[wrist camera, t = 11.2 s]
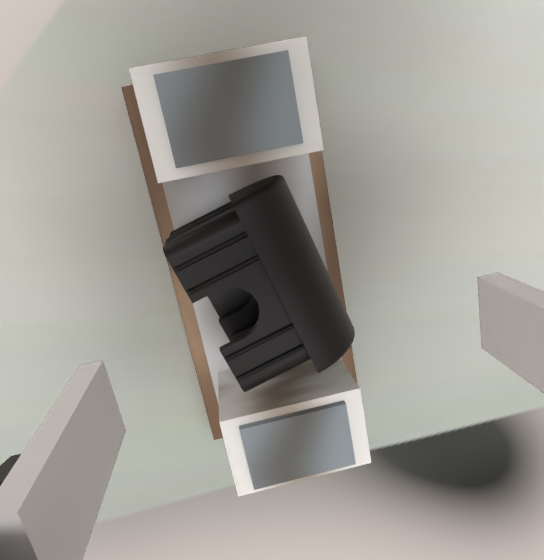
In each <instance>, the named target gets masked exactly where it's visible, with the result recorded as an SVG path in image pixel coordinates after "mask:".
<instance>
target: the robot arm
mask: <svg viewBox="0 0 544 560" xmlns="http://www.w3.org/2000/svg"><path fill="white" fill-rule="evenodd" d="M477 281H478V298H479V315H480V331H481V348H482V349H484V350H485V351H487V352H488V353H489V354H491V355H492V356H493V357H495V358H496V359H498V360H499V361H500V362H502V363H503V364H504V365H506V366H507V367H508V368H510V369H511V370H513V371H514V372H515V373H517V374H518V375H519V376H521V377H522V378H524V379H525V380H526V381H528V382H529V383H530V384H532V385H533V386H535V387H536V388H537V389H539V390H540V391H541V392H543V393H544V291H541V290H539V289H536V288H534V287H532V286H529V285H527V284H524V283H522V282H520V281H517V280H515V279H512V278H510V277H508V276H505V275H503V274H501V273H493V274H489V275H484V276H480V277H477ZM125 431H126V429H125V426H124V423H123V420H122V417H121V414H120V411H119V408H118V405H117V402H116V399H115V396H114V393H113V390H112V387H111V384H110V381H109V378H108V375H107V372H106V369H105V365H104V362H103V360H101V361H97V362H92V363H88V364H83V365H80V366H79V367H78V369H77V370H76V372H75V373H74V375H73V376H72V378H71V379H70V381H69V382H68V384H67V385H66V387H65V388H64V390H63V391H62V393H61V394H60V396H59V397H58V399H57V401H56V402H55V404H54V405H53V407H52V408H51V410H50V411H49V413H48V414H47V416H46V417H45V419H44V420H43V422H42V423H41V425H40V426H39V428H38V429H37V431H36V433H35V434H34V436H33V437H32V439H31V440H30V442H29V443H28V445H27V446H26V448H25V449H24V451H23V452H22V454H18V455H14V456H11V457H10V458H9V459H7V460H6V461H5V462H4V463H3V464H2V465H0V560H83V557H84V554H85V551H86V548H87V545H88V542H89V539H90V536H91V533H92V530H93V527H94V524H95V521H96V518H97V515H98V512H99V509H100V506H101V503H102V500H103V497H104V494H105V491H106V488H107V485H108V482H109V479H110V476H111V473H112V470H113V467H114V464H115V461H116V458H117V455H118V452H119V449H120V446H121V443H122V440H123V437H124V434H125Z"/></svg>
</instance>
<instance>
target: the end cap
mask: <svg viewBox="0 0 544 560" xmlns="http://www.w3.org/2000/svg"><path fill="white" fill-rule="evenodd" d="M228 196H229V198H230V200H231V202H229V203H227V204H225V205H223V206H221V207H219V208H217V209H215V210H213V211H211V212H209V213H207V214H205V215H203V216H201V217H199V218H197V219H195V220H193V221H191V222H189V223H187V224H185V225H183V226H182V227H180V228H178V229H176V230H174V231H172V232H170V235H169V238H167V239H166V242H165V245H164V247H163V251H164V254H165V256H166V258H167V260H168V262H169V264H170V265H171V267H172V269H173V271H174V272H175V274H176V276H177V278H178V279H179V281H180V283H181V284H182V286H183V288H184V290H185V291H186V293H187V295H188V297H189V298H190V300H191V302H192V304H193V303H195V302H197V301H199V300H201V299H203V298H204V297H206V296H208V298H209V300H210V302H211V303H212V305H213V307H214V309H215V310H216V312H217V314H218V316H219V318H220V319H219V323H220V325H221V327H222V328H223V330H224V332H225V334H226V335H227V337H228V339H229V341H230V342H229V343H227V344H225V345H223V346H221V347H220V352H221V354H222V355H223V357H224V359H225V361H226V362H227V364H228V366H229V368H230V369H231V371H232V373H233V375H234V376H235V378H236V380H237V381H238V383H239V385H240V387H241V388H242V390H243V391H244V392H247V391H249V390H251V389H252V388H254V387H256V386H258V385H260V384H262V383H264V382H266V381H268V380H270V379H272V378H274V377H276V376H278V375H280V374H282V373H284V372H286V371H288V370H290V369H292V368H294V367H296V366H298V365H300V364H302V363H304V362H306V361H308V360H310V359H311V360H312V362H313V364H314V366H315V368H316V370H317V372H318V373H320V372H322V371H323V370H325V369H327V368H328V367H330V366H331V365H333V364H334V363H335V362H337V361H338V360H339V359H340V358H341V357H342V356H343V355H344V354H345V353H346V352H347V350H348V349H349V347H350V346H351V344H352V342H353V339H354V335H355V334H354V327H353V325H352V323H351V321H350V319H349V317H348V314H347V312H346V310H345V308H344V306H343V304H342V301H341V299H340V297H339V295H338V293H337V291H336V289H335V286H334V284H333V282H332V280H331V278H330V276H329V273H328V271H327V269H326V267H325V265H324V263H323V261H322V258H321V256H320V254H319V252H318V250H317V248H316V245H315V243H314V241H313V239H312V237H311V235H310V233H309V230H308V228H307V226H306V224H305V222H304V220H303V217H302V215H301V213H300V211H299V209H298V207H297V205H296V202H295V200H294V198H293V196H292V194H291V192H290V189H289V187H288V185H287V183H286V181H285V179H284V177H283V176H281V175H274V176H271V177H268V178H265V179H262V180H260V181H257V182H255V183H253V184H251V185H248V186H246V187H244V188H242V189H240V190H238V191H236V192H234V193H232V194H230V195H228Z"/></svg>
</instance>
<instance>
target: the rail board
mask: <svg viewBox="0 0 544 560" xmlns="http://www.w3.org/2000/svg"><path fill="white" fill-rule="evenodd" d="M129 72H130V76H131V80H132V84H133V85H131V86H125V87H122V91H123V95H124V99H125V103H126V106H127V110H128V114H129V118H130V122H131V125H132V129H133V133H134V137H135V141H136V144H137V148H138V152H139V156H140V160H141V163H142V167H143V171H144V175H145V179H146V182H147V186H148V190H149V194H150V198H151V201H152V205H153V209H154V213H155V217H156V220H157V224H158V228H159V232H160V236H161V239H162V243H163V247H164V245H165V242H166V239H167V238H169V235H170V232H172V231H174V230H176V229H178V228H180V227H182V226H183V225H185V224H187V223H189V222H191V221H193V220H195V219H197V218H199V217H201V216H203V215H205V214H207V213H209V212H211V211H213V210H215V209H217V208H219V207H221V206H223V205H225V204H227V203H229V202H231V200H230V198H229V196H228V195H230V194H232V193H234V192H236V191H238V190H240V189H242V188H244V187H246V186H248V185H251V184H253V183H255V182H257V181H260V180H262V179H265V178H268V177H271V176H274V175H281V176H283V177H284V179H285V181H286V183H287V185H288V187H289V189H290V192H291V194H292V196H293V198H294V200H295V202H296V205H297V207H298V209H299V211H300V213H301V215H302V217H303V220H304V222H305V224H306V226H307V228H308V230H309V233H310V235H311V237H312V239H313V241H314V243H315V245H316V248H317V250H318V252H319V254H320V256H321V258H322V261H323V263H324V265H325V267H326V269H327V271H328V273H329V276H330V278H331V280H332V282H333V284H334V286H335V289H336V291H337V293H338V295H339V297H340V299H341V301H342V304H343V306H344V308H345V310H346V307H345V300H344V294H343V287H342V281H341V274H340V268H339V261H338V255H337V248H336V242H335V235H334V229H333V222H332V216H331V209H330V203H329V196H328V190H327V183H326V176H325V170H324V163H323V157H322V150H324V148H323V142H322V135H321V128H320V122H319V115H318V109H317V102H316V96H315V89H314V82H313V76H312V69H311V63H310V56H309V49H308V43H307V36H304V37H299V38H293V39H288V40H282V41H277V42H271V43H266V44H260V45H255V46H249V47H243V48H238V49H232V50H227V51H221V52H216V53H210V54H205V55H199V56H194V57H188V58H183V59H177V60H171V61H166V62H160V63H155V64H149V65H144V66H138V67H133V68H129ZM167 262H168V260H167ZM168 266H169V270H170V274H171V277H172V281H173V285H174V289H175V293H176V296H177V300H178V304H179V308H180V312H181V315H182V319H183V323H184V327H185V331H186V334H187V338H188V342H189V346H190V350H191V353H192V357H193V361H194V365H195V369H196V372H197V376H198V380H199V384H200V388H201V391H202V395H203V399H204V403H205V407H206V410H207V414H208V418H209V422H210V426H211V429H212V433H213V437H214V440H215V439H220V438H223V439H224V443H225V447H226V451H227V454H228V458H229V462H230V466H231V470H232V474H233V478H234V482H235V486H236V490H237V493H238V496H242V495H246V494H250V493H253V492H258V491H262V490H266V489H270V488H273V487H278V486H281V485H285V484H289V483H293V482H297V481H301V480H305V479H309V478H313V477H317V476H320V475H325V474H329V473H333V472H336V471H340V470H344V469H348V468H352V467H356V466H360V465H364V464H368V463H371V458H370V451H369V444H368V438H367V431H366V424H365V418H364V411H363V405H362V398H361V392H360V387H359V386H358V384H357V379H356V372H355V366H354V359H353V353H352V346H350V347H349V349H348V350H347V352H346V353H345V354H344V355H343V356H342V357H341V358H340V359H339V360H338V361H337V362H335V363H334V364H333V365H331V366H330V367H328V368H327V369H325V370H323V371H322V372H320V373H318V372H317V370H316V368H315V366H314V364H313V362H312V360H311V359H310V360H308V361H306V362H304V363H302V364H300V365H298V366H296V367H294V368H292V369H290V370H288V371H286V372H284V373H282V374H280V375H278V376H276V377H274V378H272V379H270V380H268V381H266V382H264V383H262V384H260V385H258V386H256V387H254V388H252V389H251V390H249V391H247V392H244V391H243V390H242V388H241V387H240V385H239V383H238V381H237V380H236V378H235V376H234V375H233V373H232V371H231V369H230V368H229V366H228V364H227V362H226V361H225V359H224V357H223V355H222V354H221V352H220V347H221V346H223V345H225V344H227V343H229V342H230V341H229V339H228V337H227V335H226V334H225V332H224V330H223V328H222V327H221V325H220V323H219V319H220V318H219V316H218V314H217V312H216V310H215V309H214V307H213V305H212V303H211V302H210V300H209V298H208V296H206V297H204V298H203V299H201V300H199V301H197V302H195V303H193V304H192V302H191V300H190V298H189V297H188V295H187V293H186V291H185V290H184V288H183V286H182V284H181V283H180V281H179V279H178V278H177V276H176V274H175V272H174V271H173V269H172V267H171V265H170V264H169V262H168Z"/></svg>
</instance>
